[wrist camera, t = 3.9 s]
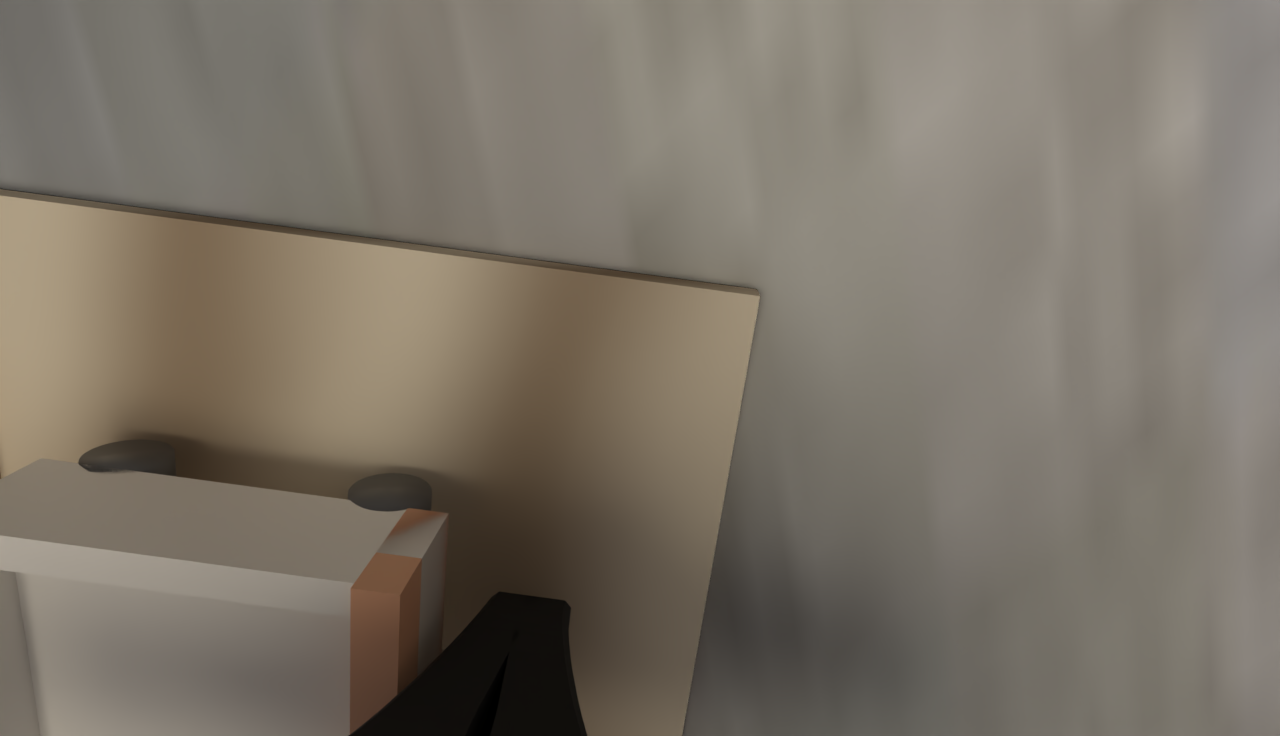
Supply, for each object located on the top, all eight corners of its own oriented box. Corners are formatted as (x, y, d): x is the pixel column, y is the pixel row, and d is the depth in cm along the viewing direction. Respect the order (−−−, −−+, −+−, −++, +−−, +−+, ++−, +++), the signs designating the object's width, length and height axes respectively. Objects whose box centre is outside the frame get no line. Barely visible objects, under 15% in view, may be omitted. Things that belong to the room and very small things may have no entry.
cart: (466, 482, 12) (401, 595, 9) (452, 733, 13) (390, 898, 10) (92, 431, 12) (-94, 527, 9) (120, 688, 13) (-31, 840, 11)
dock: (756, 289, 11) (792, 359, 8) (655, 867, 15) (648, 1090, 12) (-471, 126, 12) (-971, 124, 8) (-276, 738, 15) (-561, 920, 12)
